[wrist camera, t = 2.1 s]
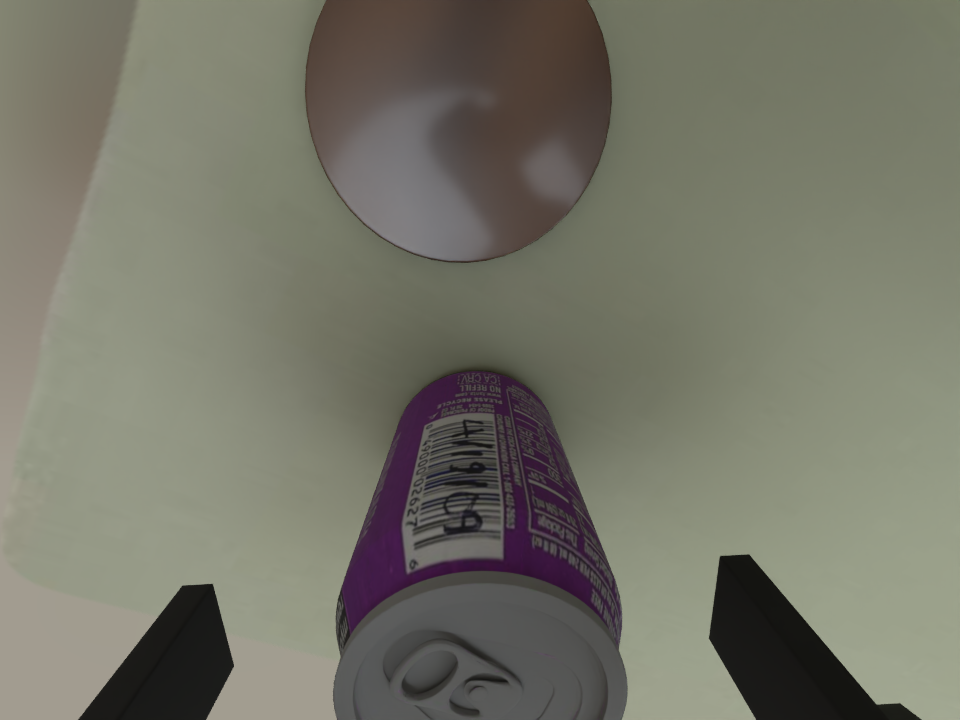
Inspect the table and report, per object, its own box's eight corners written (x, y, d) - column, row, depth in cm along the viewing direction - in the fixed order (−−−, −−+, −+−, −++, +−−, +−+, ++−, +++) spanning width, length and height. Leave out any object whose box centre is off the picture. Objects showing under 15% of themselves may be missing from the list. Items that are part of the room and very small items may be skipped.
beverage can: (369, 458, 21) (250, 741, 10) (452, 334, 20) (425, 499, 8) (496, 529, 22) (521, 852, 11) (584, 418, 21) (722, 664, 9)
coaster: (614, -79, 15) (619, -91, 15) (601, 255, 19) (606, 256, 18) (287, -66, 15) (279, -77, 15) (332, 267, 19) (327, 268, 18)
